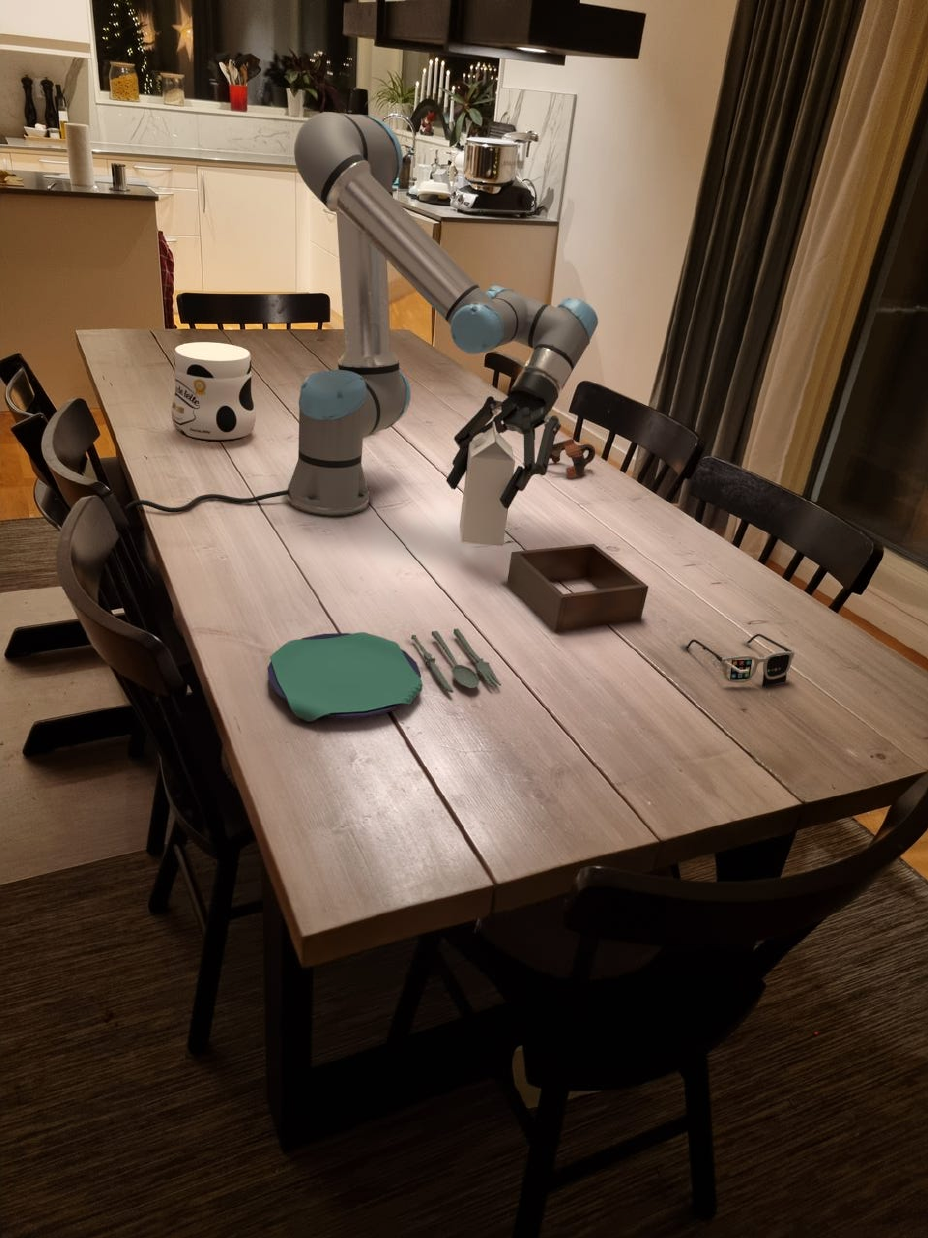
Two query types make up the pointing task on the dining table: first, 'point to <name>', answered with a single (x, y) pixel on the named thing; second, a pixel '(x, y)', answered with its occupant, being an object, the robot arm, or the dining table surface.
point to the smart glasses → (756, 664)
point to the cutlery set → (358, 674)
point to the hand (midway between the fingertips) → (476, 494)
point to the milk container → (213, 392)
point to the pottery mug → (573, 456)
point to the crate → (576, 610)
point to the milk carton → (486, 489)
